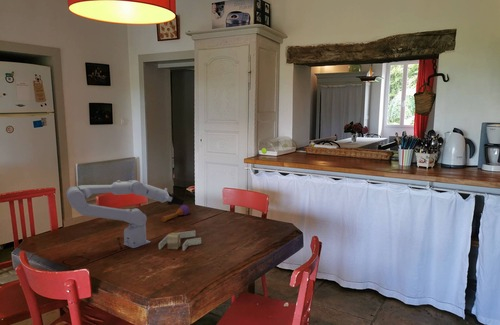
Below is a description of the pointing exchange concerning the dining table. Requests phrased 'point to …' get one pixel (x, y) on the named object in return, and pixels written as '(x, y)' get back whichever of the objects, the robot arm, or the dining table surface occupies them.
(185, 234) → the rail track
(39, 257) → the dining table surface
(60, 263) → the dining table surface
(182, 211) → the kendama
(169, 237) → the maple block
